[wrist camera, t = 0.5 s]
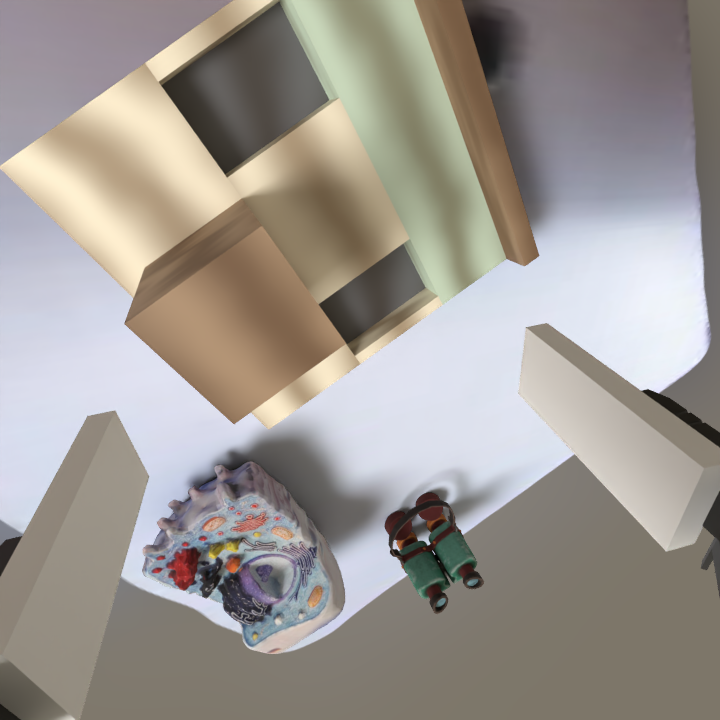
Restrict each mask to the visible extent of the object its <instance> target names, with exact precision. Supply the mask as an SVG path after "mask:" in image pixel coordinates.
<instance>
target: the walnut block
mask: <svg viewBox="0 0 720 720" xmlns="http://www.w3.org/2000/svg"><path fill="white" fill-rule="evenodd" d="M125 325H126V326H127V327H128V328H129V329H130V330H132V331H133V332H134V333H135V334H136V335H137V336H138V337H139V338H140V339H141V340H142V341H144V342H145V343H146V344H147V345H148V346H149V347H150V348H151V349H152V350H153V351H154V352H156V353H157V354H158V355H159V356H160V357H161V358H162V359H163V360H164V361H165V362H166V363H168V364H169V365H170V366H171V367H172V368H173V369H174V370H175V371H176V372H177V373H178V374H180V375H181V376H182V377H183V378H184V379H185V380H186V381H187V382H188V383H189V384H190V385H192V386H193V387H194V388H195V389H196V390H197V391H198V392H199V393H200V394H201V395H202V396H204V397H205V398H206V399H207V400H208V401H209V402H210V403H211V404H212V405H213V406H214V407H216V408H217V409H218V410H219V411H220V412H221V413H222V414H223V415H224V416H225V417H226V418H228V419H229V420H230V421H231V422H232V423H233V424H235V423H236V422H238V421H239V420H241V419H242V418H243V417H245V416H246V415H248V414H249V413H250V412H252V411H253V410H255V409H256V408H257V407H259V406H260V405H262V404H263V403H264V402H266V401H267V400H269V399H270V398H271V397H273V396H274V395H276V394H277V393H278V392H280V391H281V390H282V389H284V388H285V387H287V386H288V385H289V384H291V383H292V382H294V381H295V380H296V379H298V378H299V377H301V376H302V375H303V374H305V373H306V372H308V371H309V370H310V369H312V368H313V367H315V366H316V365H317V364H319V363H320V362H321V361H323V360H324V359H326V358H327V357H328V356H330V355H331V354H333V353H334V352H335V351H337V350H338V349H340V348H341V347H342V346H344V345H345V344H346V342H345V341H344V340H343V338H342V337H341V335H340V334H339V333H338V331H337V330H336V328H335V327H334V326H333V324H332V323H331V321H330V320H329V319H328V317H327V316H326V314H325V313H324V312H323V310H322V309H321V307H320V306H319V305H318V303H317V302H316V300H315V299H314V298H313V296H312V295H311V293H310V292H309V291H308V289H307V288H306V286H305V285H304V284H303V282H302V281H301V279H300V278H299V277H298V275H297V274H296V272H295V271H294V270H293V268H292V267H291V265H290V264H289V263H288V261H287V260H286V258H285V257H284V256H283V254H282V253H281V251H280V250H279V249H278V247H277V246H276V244H275V243H274V242H273V240H272V239H271V237H270V236H269V235H268V233H267V232H266V231H265V229H264V228H263V226H262V225H261V224H260V222H259V221H258V220H257V218H256V217H255V215H254V214H253V213H252V211H251V210H250V209H249V207H248V206H247V205H246V203H245V202H244V201H243V199H240V200H239V201H237V202H236V203H235V204H233V205H232V206H230V207H229V208H228V209H226V210H225V211H223V212H222V213H221V214H219V215H218V216H216V217H215V218H214V219H212V220H211V221H209V222H208V223H207V224H205V225H204V226H202V227H201V228H200V229H198V230H197V231H195V232H194V233H193V234H191V235H190V236H188V237H187V238H186V239H184V240H183V241H181V242H180V243H179V244H177V245H176V246H174V247H173V248H172V249H170V250H169V251H167V252H166V253H165V254H163V255H162V256H160V257H159V258H157V259H156V260H155V261H153V262H152V263H150V264H149V265H148V266H146V267H145V268H144V271H143V274H142V276H141V279H140V282H139V285H138V287H137V290H136V293H135V296H134V299H133V301H132V304H131V307H130V310H129V312H128V315H127V318H126V321H125Z"/></svg>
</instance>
